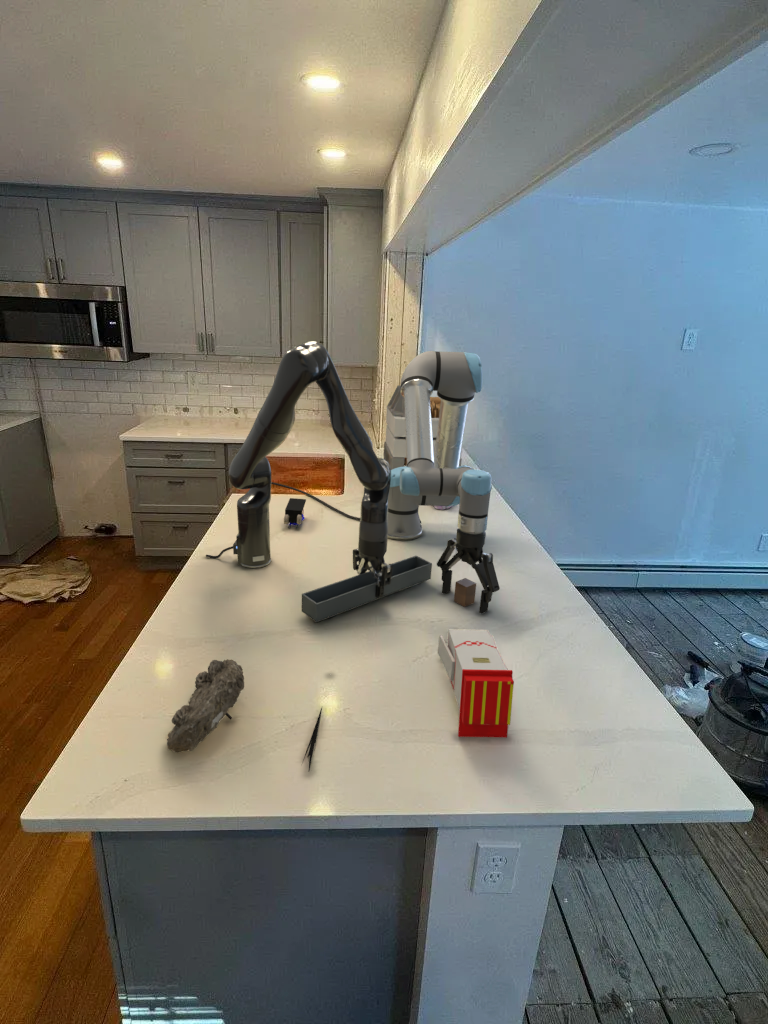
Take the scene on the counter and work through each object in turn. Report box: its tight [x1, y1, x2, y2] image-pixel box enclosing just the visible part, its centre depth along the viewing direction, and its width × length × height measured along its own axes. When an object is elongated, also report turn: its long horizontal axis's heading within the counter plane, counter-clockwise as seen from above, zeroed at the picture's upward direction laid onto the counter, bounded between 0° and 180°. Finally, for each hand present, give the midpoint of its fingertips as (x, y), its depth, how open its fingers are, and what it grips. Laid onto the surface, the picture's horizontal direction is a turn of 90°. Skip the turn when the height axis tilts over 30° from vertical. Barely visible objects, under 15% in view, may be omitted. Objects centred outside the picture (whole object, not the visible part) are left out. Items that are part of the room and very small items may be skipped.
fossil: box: [166, 658, 245, 754], centre depth 106 cm, size 22×10×15 cm
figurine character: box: [283, 497, 307, 529], centre depth 204 cm, size 7×8×15 cm
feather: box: [301, 673, 332, 771], centre depth 108 cm, size 2×28×2 cm
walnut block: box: [453, 577, 477, 608], centre depth 154 cm, size 4×4×6 cm
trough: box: [301, 555, 433, 623], centre depth 153 cm, size 7×40×5 cm, turn 131°
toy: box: [437, 628, 515, 738], centre depth 117 cm, size 12×13×30 cm
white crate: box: [383, 384, 464, 470], centre depth 268 cm, size 34×33×41 cm
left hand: (370, 591), depth 153 cm, fingers closed on trough, 6 cm apart
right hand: (464, 601), depth 155 cm, fingers open, 13 cm apart
